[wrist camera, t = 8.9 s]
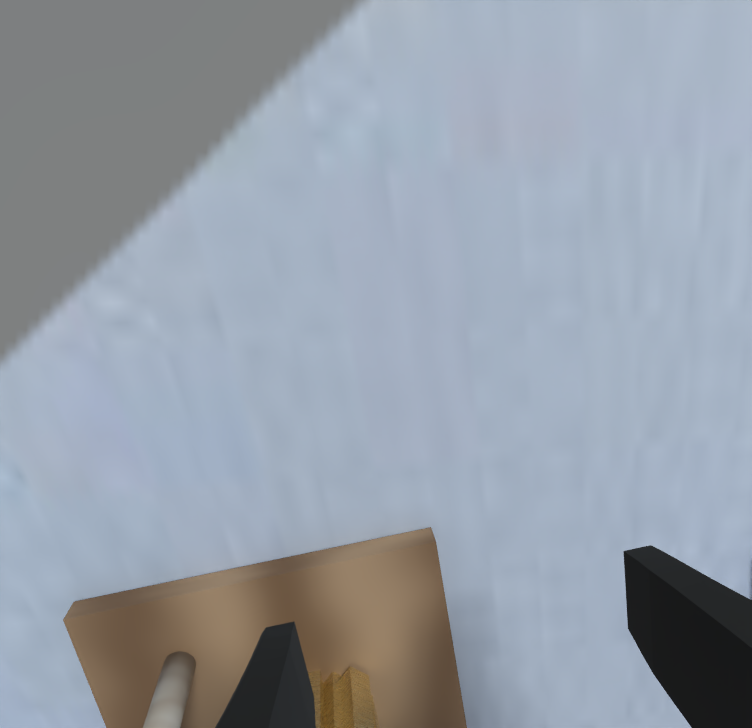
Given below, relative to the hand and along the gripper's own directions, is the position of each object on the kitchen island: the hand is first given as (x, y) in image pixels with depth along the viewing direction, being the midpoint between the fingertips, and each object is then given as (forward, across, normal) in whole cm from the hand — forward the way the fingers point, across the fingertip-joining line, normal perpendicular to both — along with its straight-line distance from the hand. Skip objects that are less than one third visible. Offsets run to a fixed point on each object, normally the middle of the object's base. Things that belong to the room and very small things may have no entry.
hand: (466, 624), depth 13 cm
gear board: (+10, +6, +15) cm, 19 cm away
